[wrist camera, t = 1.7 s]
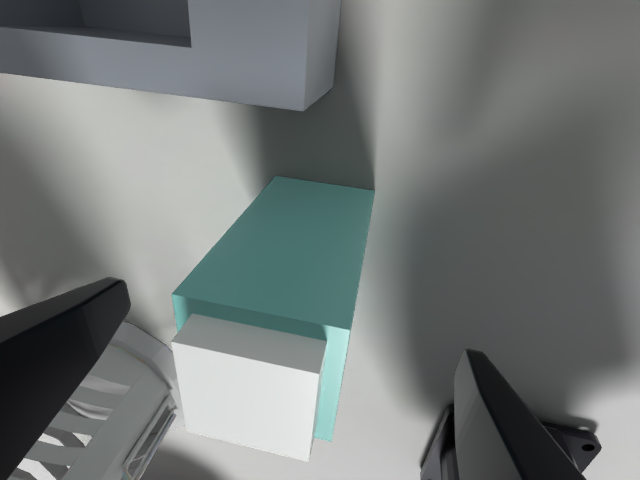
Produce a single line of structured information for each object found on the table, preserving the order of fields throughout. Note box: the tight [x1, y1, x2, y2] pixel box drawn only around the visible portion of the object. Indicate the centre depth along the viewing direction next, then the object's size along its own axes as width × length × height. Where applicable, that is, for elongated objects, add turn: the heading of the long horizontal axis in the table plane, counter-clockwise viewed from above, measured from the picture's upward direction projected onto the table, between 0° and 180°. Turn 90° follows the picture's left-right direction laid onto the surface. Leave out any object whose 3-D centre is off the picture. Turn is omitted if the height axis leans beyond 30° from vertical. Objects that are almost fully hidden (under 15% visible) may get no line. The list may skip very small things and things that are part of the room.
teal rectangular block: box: [171, 176, 375, 462], centre depth 11 cm, size 4×4×8 cm
